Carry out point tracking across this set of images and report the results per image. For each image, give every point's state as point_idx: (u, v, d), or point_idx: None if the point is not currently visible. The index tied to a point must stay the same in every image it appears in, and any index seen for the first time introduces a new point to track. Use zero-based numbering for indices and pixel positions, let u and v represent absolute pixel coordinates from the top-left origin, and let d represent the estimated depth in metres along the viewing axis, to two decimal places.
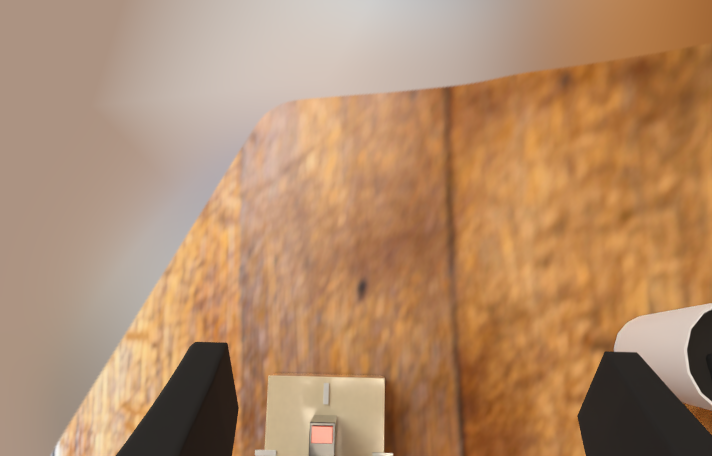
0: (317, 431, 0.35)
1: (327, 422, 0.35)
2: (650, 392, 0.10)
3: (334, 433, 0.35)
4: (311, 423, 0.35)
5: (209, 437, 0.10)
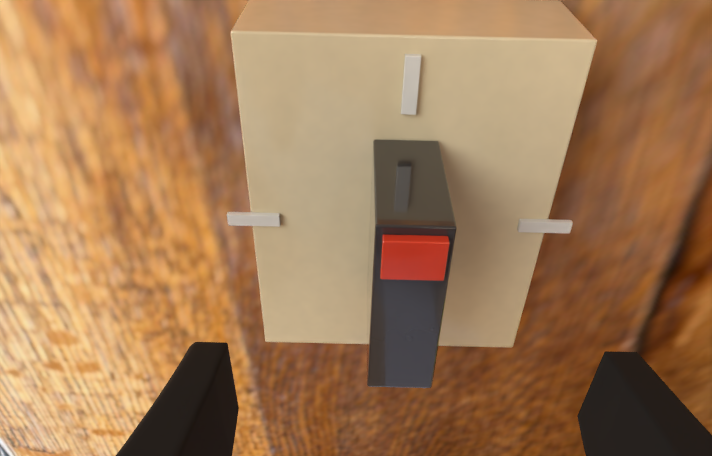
0: (399, 255, 0.11)
1: (430, 223, 0.11)
2: (650, 392, 0.10)
3: (450, 251, 0.12)
4: (380, 229, 0.11)
5: (209, 437, 0.10)
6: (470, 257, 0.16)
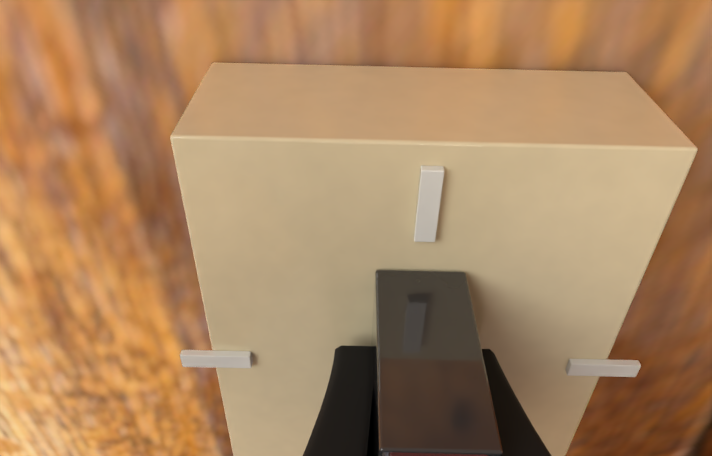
0: None
1: (462, 444, 0.07)
2: None
3: None
4: (387, 454, 0.07)
5: (369, 441, 0.10)
6: None
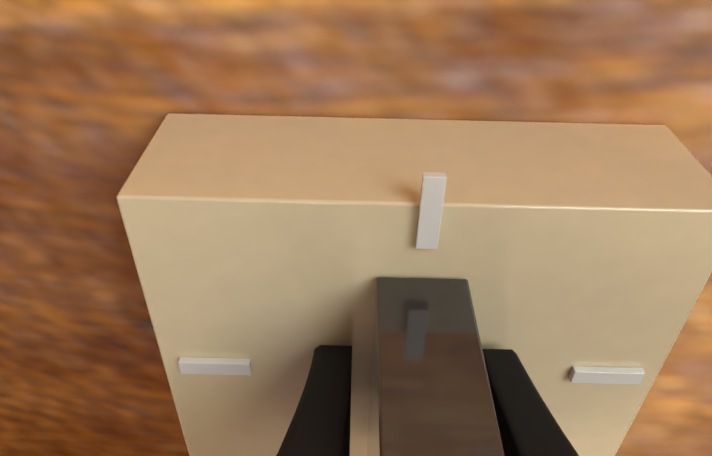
0: None
1: None
2: (512, 389, 0.10)
3: None
4: None
5: (346, 440, 0.10)
6: None
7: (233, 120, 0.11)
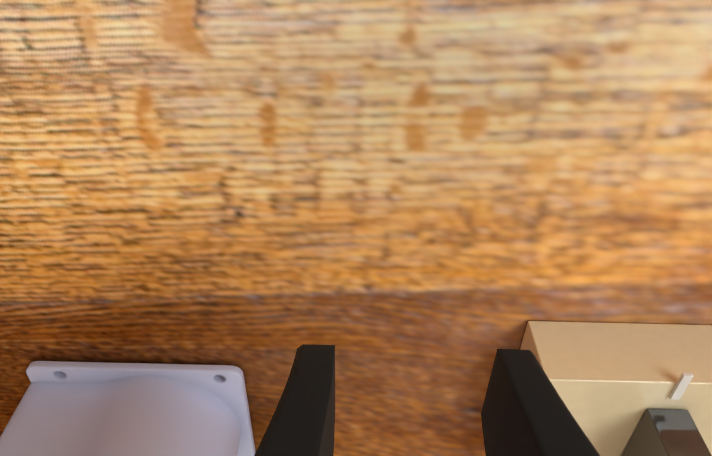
0: None
1: None
2: (531, 389, 0.10)
3: None
4: None
5: (327, 440, 0.10)
6: None
7: (563, 326, 0.23)
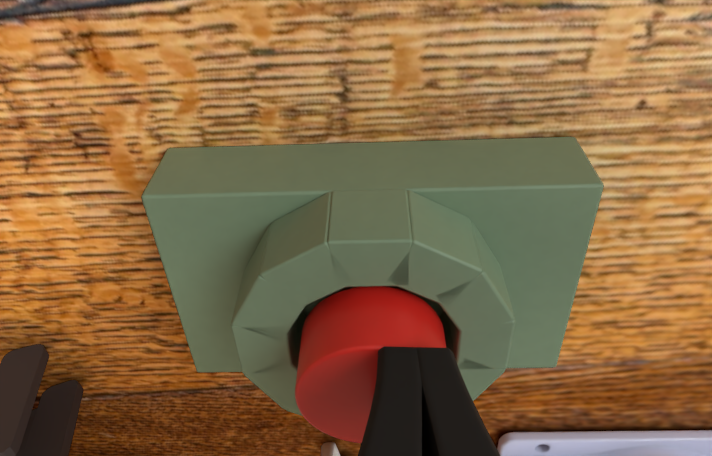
0: None
1: None
2: (441, 387, 0.10)
3: None
4: None
5: None
6: None
7: None
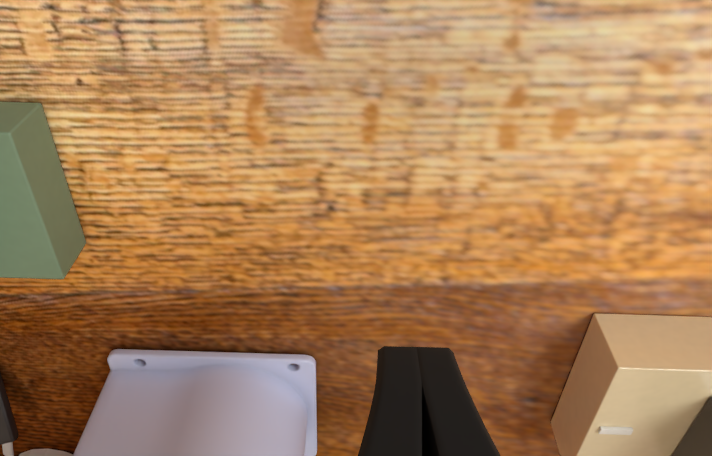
0: None
1: None
2: (441, 387, 0.10)
3: None
4: None
5: None
6: None
7: (628, 318, 0.25)
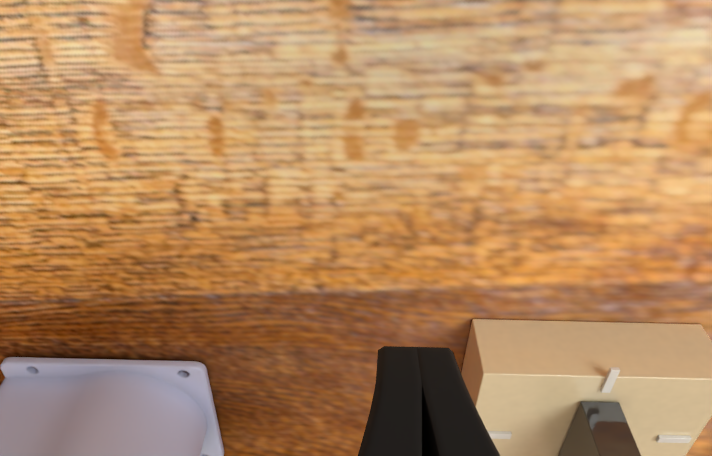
0: None
1: None
2: (441, 387, 0.10)
3: None
4: None
5: None
6: None
7: (505, 324, 0.25)
